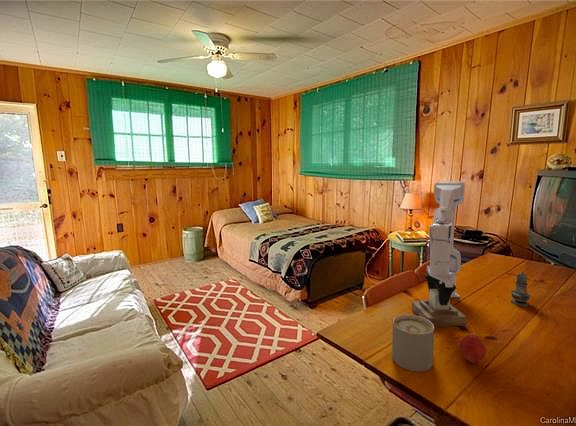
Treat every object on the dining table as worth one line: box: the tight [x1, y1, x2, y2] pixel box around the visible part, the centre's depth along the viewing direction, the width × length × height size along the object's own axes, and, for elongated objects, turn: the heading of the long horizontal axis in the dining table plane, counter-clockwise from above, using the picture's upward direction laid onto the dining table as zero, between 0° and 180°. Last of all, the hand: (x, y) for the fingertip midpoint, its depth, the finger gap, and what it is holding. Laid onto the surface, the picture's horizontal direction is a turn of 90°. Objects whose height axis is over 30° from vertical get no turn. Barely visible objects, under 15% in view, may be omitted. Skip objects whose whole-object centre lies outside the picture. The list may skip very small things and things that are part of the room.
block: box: [428, 289, 450, 310], centre depth 98 cm, size 4×4×6 cm
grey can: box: [391, 313, 435, 372], centre depth 78 cm, size 13×10×10 cm
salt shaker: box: [510, 271, 532, 307], centre depth 106 cm, size 6×6×12 cm
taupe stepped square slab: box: [411, 299, 467, 328], centre depth 99 cm, size 12×12×4 cm
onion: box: [458, 333, 487, 364], centre depth 76 cm, size 6×6×8 cm
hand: (438, 299), depth 98 cm, fingers open, 7 cm apart
